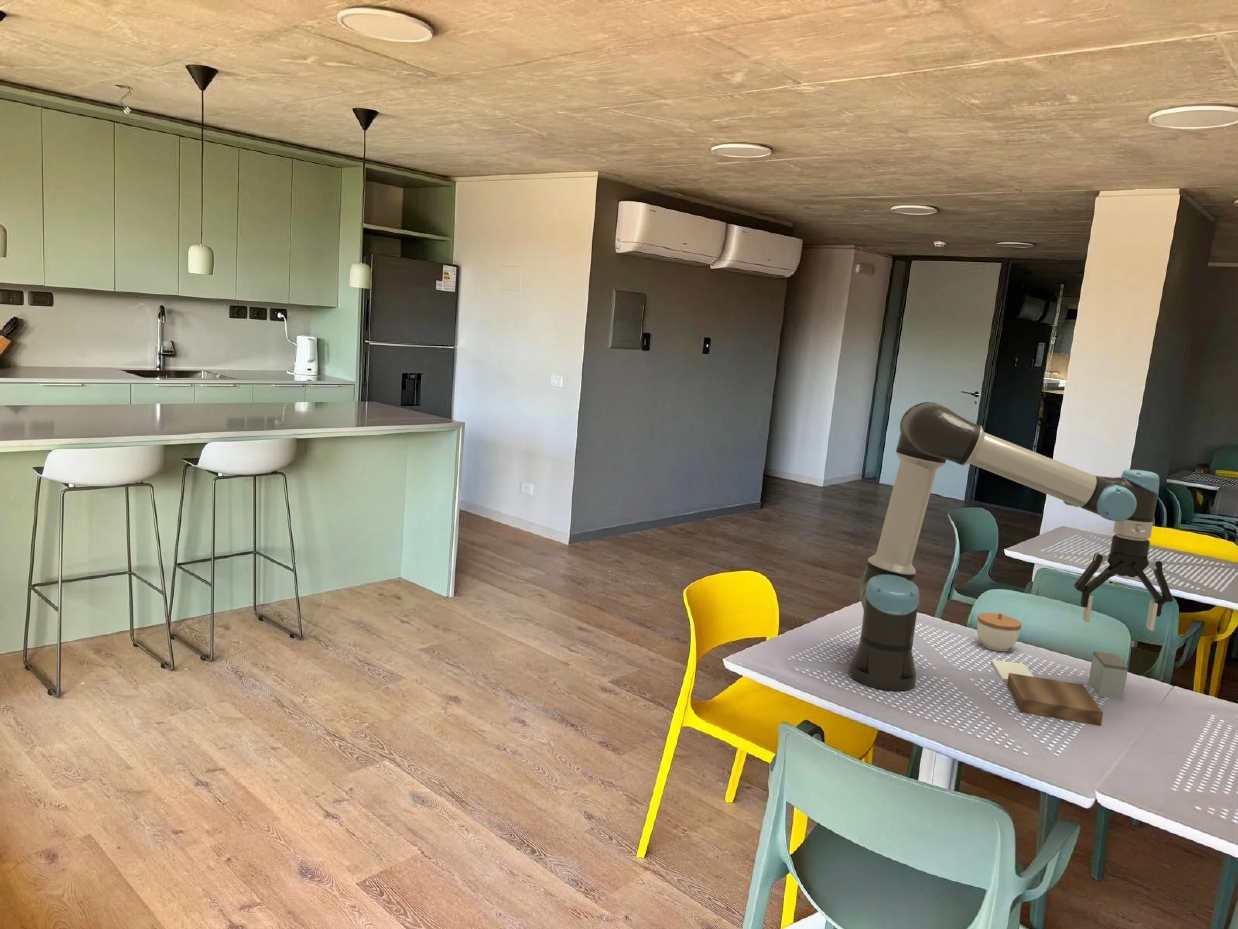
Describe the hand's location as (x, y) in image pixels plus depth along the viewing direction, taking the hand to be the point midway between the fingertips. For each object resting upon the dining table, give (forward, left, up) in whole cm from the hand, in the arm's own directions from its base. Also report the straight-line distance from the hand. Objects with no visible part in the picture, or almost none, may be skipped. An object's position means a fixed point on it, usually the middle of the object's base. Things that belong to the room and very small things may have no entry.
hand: (1117, 624), depth 201 cm
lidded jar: (-21, +21, -17) cm, 34 cm away
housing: (0, 0, -17) cm, 17 cm away
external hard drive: (-20, +1, -17) cm, 27 cm away
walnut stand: (-15, -15, -16) cm, 27 cm away
